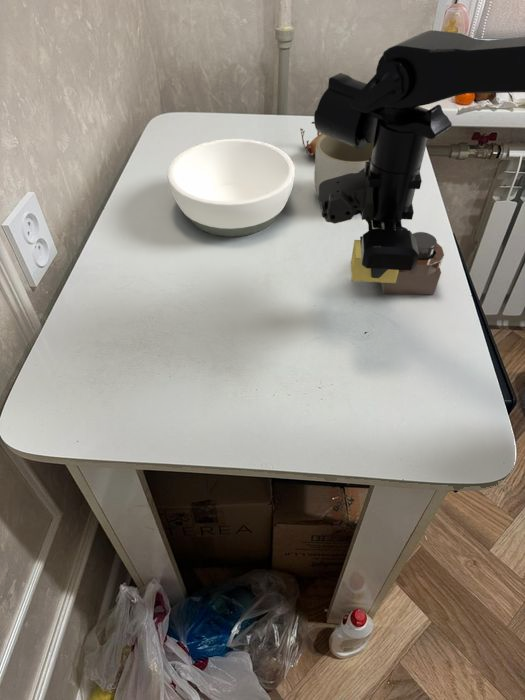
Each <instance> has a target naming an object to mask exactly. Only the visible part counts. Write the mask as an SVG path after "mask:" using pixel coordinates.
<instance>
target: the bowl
mask: <svg viewBox="0 0 525 700" xmlns="http://www.w3.org/2000/svg"><path fill="white" fill-rule="evenodd" d="M295 172H296V168H295V164H294V161H293V160H292V159H291V157H290V156H289V155H288V154H287V153H286V152H285V151H284V150H282V149H280V148H278V147H277V146H276V145H275V146H274V145H272V144H270V143H266V142H263V141H259V140H255V139H247V138H223V139H222V138H221V139H216V140H210V141H206V142H202V143H199V144H196V145H194V146H191V147H188V148H187V149H185V150H184V151H182V152H180V153H179V154H178V155H177V156H175V157H174V159H172V161H171V162H170V164H169V166H168V168H167V181H168V184H169V189H170V192H171V194H172V197H173V199H174V200H175V202H176V205H177V206H178V207H179V209H180V210H181V211H182V213H184V215H185V216H186V217H187V219H189V221H190V222H192V224H193V225H194V226H195V227H196V228H198V229H199V230H201V231H203V232H205V233H207V234H211V235H214V236H218V237H232V238H233V237H243V236H248V235H252V234H256V233H259V232H261V231H263V230H265V229H267V228H268V227H269V226H270V225H272V224H273V223H274V222H275V220H276V219H277V217H278V216H279V215H280V214H281V212H282V210H283V209H284V208H285V206H286V204H287V202H288V200H289V198H290V196H291V193H292V191H293V188H294V181H295V175H296V173H295Z"/></svg>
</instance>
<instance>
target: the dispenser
mask: <svg viewBox="0 0 525 700" xmlns="http://www.w3.org/2000/svg"><path fill="white" fill-rule="evenodd" d="M444 258H445V253H444V250H443V247H442V245H440V243H438V242H437V244H436V247H435V250H434V253H433V256H432V258H431V259H429V260H418V261H417V264H416V268H414V269H413V270H411V271H408V270H399V271H398V275H397V279H396V283H384V282H380V284H381V290H382V293H383V294H395V295H397V294H399V295H435V292H436V289H437V287H438V284H439V281H440V278H441V275H442V271H441V265H442V262H443V260H444Z"/></svg>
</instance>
